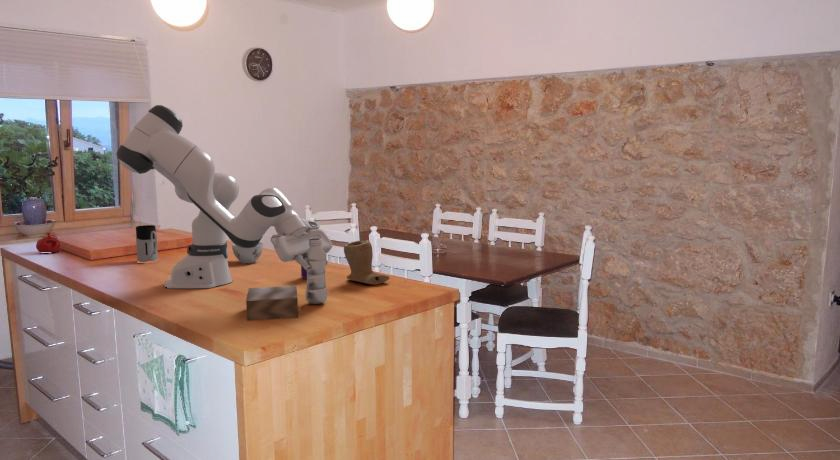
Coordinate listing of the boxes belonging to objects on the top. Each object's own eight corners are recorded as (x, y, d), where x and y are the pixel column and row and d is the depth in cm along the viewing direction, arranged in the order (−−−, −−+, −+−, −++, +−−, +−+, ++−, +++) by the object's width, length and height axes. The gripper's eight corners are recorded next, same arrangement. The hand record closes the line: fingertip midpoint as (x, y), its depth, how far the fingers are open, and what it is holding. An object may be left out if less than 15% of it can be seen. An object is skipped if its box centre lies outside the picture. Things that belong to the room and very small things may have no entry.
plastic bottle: (306, 300, 192) (304, 237, 189) (328, 300, 192) (326, 237, 189) (304, 306, 185) (302, 240, 182) (326, 305, 186) (325, 240, 183)
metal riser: (247, 320, 171) (246, 299, 170) (249, 307, 184) (248, 288, 184) (298, 317, 174) (297, 296, 173) (296, 304, 187) (296, 285, 187)
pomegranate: (31, 254, 275) (29, 234, 274) (48, 250, 285) (46, 231, 284) (51, 255, 274) (48, 234, 272) (67, 250, 283) (65, 231, 282)
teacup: (270, 261, 257) (269, 242, 256) (246, 266, 247) (245, 247, 245) (246, 257, 265) (245, 239, 264) (222, 262, 255) (221, 243, 254)
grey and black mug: (154, 259, 263) (151, 224, 261) (168, 263, 253) (166, 227, 251) (133, 261, 257) (130, 226, 255) (146, 266, 247) (144, 229, 245)
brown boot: (337, 281, 219) (337, 240, 217) (364, 276, 227) (364, 236, 225) (363, 288, 208) (362, 245, 206) (390, 283, 216) (390, 241, 214)
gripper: (272, 229, 181) (297, 265, 177) (321, 221, 198) (344, 254, 193) (263, 242, 184) (287, 278, 180) (311, 234, 201) (334, 267, 197)
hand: (317, 266), depth 187 cm, fingers closed on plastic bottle, 6 cm apart
